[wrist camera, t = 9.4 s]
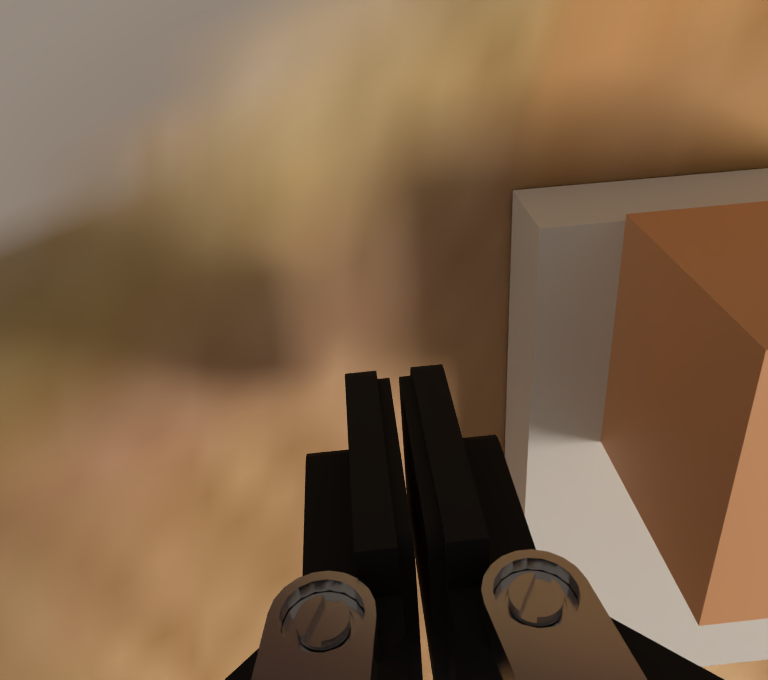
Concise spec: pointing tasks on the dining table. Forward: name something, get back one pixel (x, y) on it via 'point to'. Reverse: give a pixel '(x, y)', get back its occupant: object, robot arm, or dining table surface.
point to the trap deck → (597, 400)
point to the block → (696, 399)
